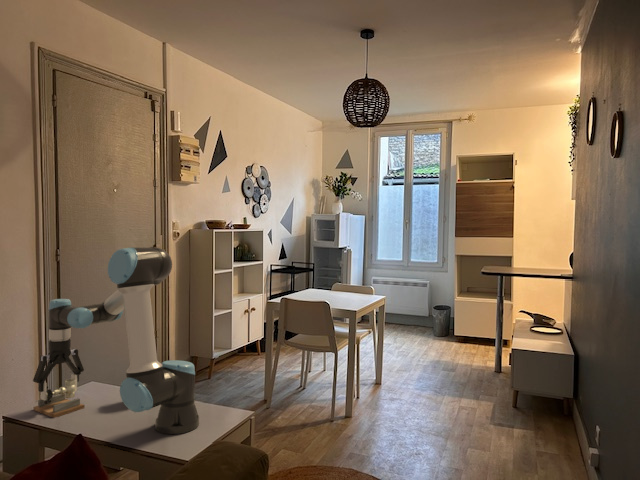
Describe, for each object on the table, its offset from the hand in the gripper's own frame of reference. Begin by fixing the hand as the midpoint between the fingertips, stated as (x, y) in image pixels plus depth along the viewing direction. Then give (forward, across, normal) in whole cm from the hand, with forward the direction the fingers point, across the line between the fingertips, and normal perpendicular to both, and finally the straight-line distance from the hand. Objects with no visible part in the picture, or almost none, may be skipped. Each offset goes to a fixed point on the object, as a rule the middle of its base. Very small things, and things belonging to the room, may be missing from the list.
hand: (59, 395), depth 188 cm
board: (+5, 0, 0) cm, 5 cm away
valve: (+2, 0, 0) cm, 2 cm away
